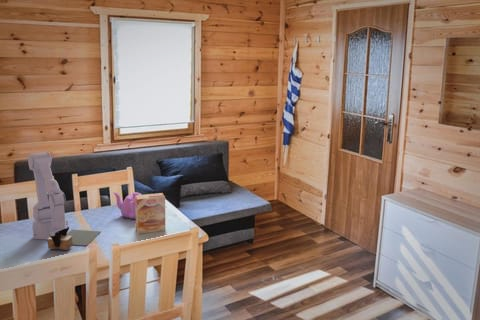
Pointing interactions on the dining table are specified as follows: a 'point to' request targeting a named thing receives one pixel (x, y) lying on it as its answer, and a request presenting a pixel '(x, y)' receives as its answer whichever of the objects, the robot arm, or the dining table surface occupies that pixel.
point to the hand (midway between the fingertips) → (60, 244)
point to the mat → (83, 237)
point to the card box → (61, 243)
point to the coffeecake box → (150, 213)
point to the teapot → (127, 205)
